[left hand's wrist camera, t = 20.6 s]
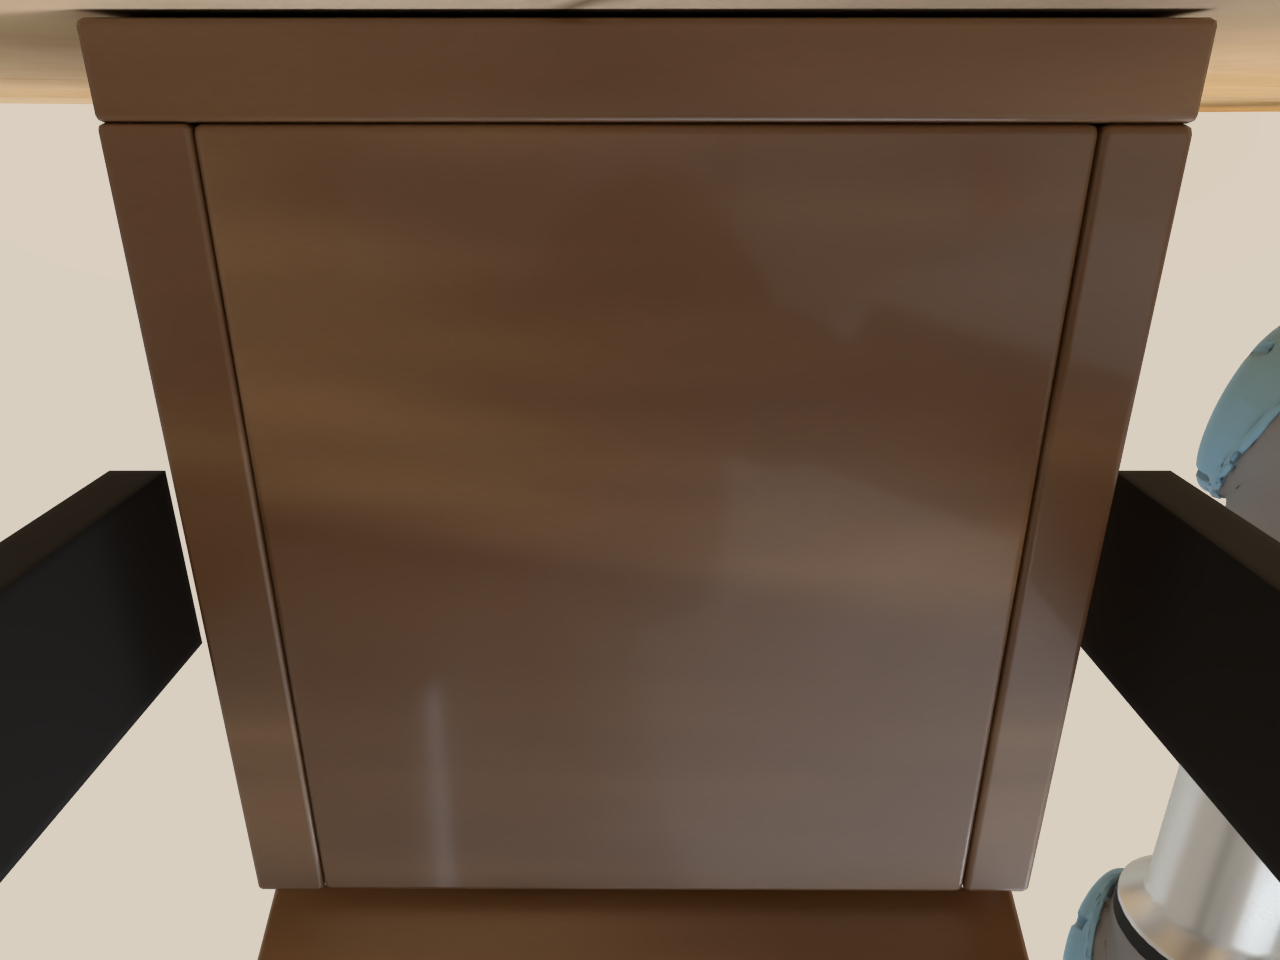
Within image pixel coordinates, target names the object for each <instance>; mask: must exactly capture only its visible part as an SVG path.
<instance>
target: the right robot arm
mask: <svg viewBox="0 0 1280 960" xmlns="http://www.w3.org/2000/svg"><path fill="white" fill-rule="evenodd" d="M1196 465H1197V468H1198V471H1197V474H1196V477H1197V481H1198V483H1199V485H1200V487H1201V488H1202V489H1204V490H1205V491H1208V492H1209V493H1210V494H1211V495H1212V497H1216V498H1219V499H1220V498H1226V508H1228V509H1230V510H1231V511H1233V512H1234V513H1236V514H1237V515H1239V516H1240V517H1242V518H1243V519H1245V520H1246V521H1248V522H1249V523H1251V524H1252V525H1254V526H1256V527H1257V528H1259V529H1260V530H1262V531H1263V532H1265V533H1266V534H1268V535H1269V536H1271V537H1272V538H1274V539H1275V540H1277V541H1278V542H1280V326H1279V327H1277V328H1276V329H1275V330H1273V331H1272V332H1271V333H1270V334H1269V335H1267V336H1266V337H1265V338H1264V339H1263V340H1262V341H1261V342H1260V343H1259V344H1258V345H1257V346H1256V347H1255V349H1254V350H1253V351H1252V352H1251V353H1250V355H1249V356H1248V357H1247V358H1246V359H1245V360H1244V362H1243V363H1242V364H1241V366H1240V367H1239V369H1238V370H1237V372H1236V373H1235V374H1234V376H1233V377H1232V379H1231V380H1230V382H1229V384H1228V385H1227V387H1226V389H1225V390H1224V392H1223V394H1222V396H1221V397H1220V399H1219V401H1218V403H1217V405H1216V407H1215V409H1214V411H1213V413H1212V415H1211V417H1210V420H1209V422H1208V424H1207V427H1206V429H1205V432H1204V434H1203V437H1202V440H1201V443H1200V447H1199V451H1198V455H1197V463H1196ZM1063 960H1280V882H1279V881H1278V880H1277V879H1276V878H1275V876H1274V875H1273V874H1272V873H1271V872H1270V870H1269V869H1268V868H1267V867H1266V866H1265V864H1264V863H1263V862H1262V861H1261V860H1260V859H1259V857H1258V856H1257V855H1256V854H1255V853H1254V851H1253V850H1252V849H1251V848H1250V847H1249V846H1248V844H1247V843H1246V842H1245V841H1244V840H1243V838H1242V837H1241V836H1240V835H1239V834H1238V832H1237V831H1236V830H1235V829H1234V828H1233V827H1232V825H1231V824H1230V823H1229V822H1228V821H1227V819H1226V818H1225V817H1224V816H1223V815H1222V813H1221V812H1220V811H1219V810H1218V809H1217V808H1216V806H1215V805H1214V804H1213V803H1212V802H1211V800H1210V799H1209V798H1208V797H1207V796H1206V794H1205V793H1204V792H1203V791H1202V790H1201V789H1200V787H1199V786H1198V785H1197V784H1196V783H1195V781H1194V780H1193V779H1192V778H1191V777H1190V776H1189V774H1188V773H1187V772H1186V771H1185V770H1184V768H1183V767H1182V766H1181V765H1179V769H1178V772H1177V775H1176V779H1175V782H1174V785H1173V789H1172V792H1171V795H1170V799H1169V802H1168V805H1167V809H1166V812H1165V815H1164V819H1163V822H1162V825H1161V829H1160V832H1159V835H1158V839H1157V842H1156V846H1155V849H1154V852H1153V855H1150V856H1144V857H1141V858H1138V859H1136V860H1134V861H1132V862H1131V863H1129V864H1128V865H1127V866H1126V867H1125V868H1117V869H1113V870H1111V871H1109V872H1107V873H1106V874H1105V875H1103V876H1102V877H1101V878H1100V879H1099V880H1098V881H1097V882H1096V883H1095V885H1094V886H1093V887H1092V888H1091V890H1090V891H1089V892H1088V894H1087V896H1086V897H1085V899H1084V901H1083V902H1082V904H1081V906H1080V908H1079V911H1078V919H1077V922H1076V923H1075V924H1074V925H1073V926H1071V929H1070V932H1069V935H1068V938H1067V943H1066V947H1065V951H1064V956H1063Z"/></svg>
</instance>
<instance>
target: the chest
mask: <svg viewBox="0 0 1280 960" xmlns="http://www.w3.org/2000/svg"><path fill="white" fill-rule="evenodd" d="M1216 28H1217V22H1216V20H1214V19H1212V18H82V19H80V20H78V21H77V30H78V35H79V39H80V44H81V49H82V53H83V58H84V63H85V68H86V72H87V77H88V82H89V86H90V91H91V96H92V101H93V105H94V110H95V114H96V116H97V118H98V120H100V121H102V122H105V123H104V124H102V125H100V126H99V134H100V139H101V144H102V149H103V153H104V158H105V163H106V167H107V172H108V177H109V182H110V186H111V191H112V196H113V200H114V205H115V210H116V215H117V219H118V224H119V229H120V234H121V238H122V243H123V248H124V252H125V257H126V262H127V266H128V271H129V276H130V281H131V285H132V290H133V295H134V299H135V304H136V309H137V314H138V318H139V323H140V328H141V332H142V337H143V342H144V347H145V351H146V356H147V361H148V365H149V370H150V375H151V380H152V384H153V389H154V394H155V398H156V403H157V408H158V412H159V417H160V422H161V427H162V431H163V436H164V441H165V446H166V450H167V455H168V460H169V464H170V469H171V474H172V478H173V483H174V488H175V493H176V497H177V502H178V507H179V511H180V516H181V521H182V525H183V530H184V535H185V540H186V544H187V549H188V554H189V559H190V563H191V568H192V572H193V577H194V582H195V587H196V592H197V596H198V601H199V606H200V610H201V615H202V620H203V625H204V629H205V634H206V639H207V643H208V648H209V653H210V657H211V662H212V667H213V671H214V676H215V681H216V686H217V690H218V695H219V700H220V705H221V709H222V714H223V719H224V723H225V728H226V733H227V737H228V742H229V747H230V752H231V756H232V761H233V766H234V771H235V775H236V780H237V785H238V789H239V794H240V798H241V804H242V808H243V813H244V818H245V822H246V827H247V832H248V836H249V841H250V846H251V851H252V855H253V860H254V865H255V869H256V874H257V879H258V884H259V887H260V888H262V889H321V888H323V887H324V885H325V883H326V885H327V887H330V888H405V889H638V890H871V891H957V890H959V889H960V888H961V887H962V885H963V887H964V888H965V889H966V890H969V891H1024V890H1026V889H1027V888H1028V885H1029V880H1030V876H1031V871H1032V867H1033V862H1034V857H1035V853H1036V848H1037V844H1038V839H1039V834H1040V830H1041V825H1042V821H1043V816H1044V811H1045V807H1046V802H1047V798H1048V793H1049V788H1050V784H1051V779H1052V775H1053V770H1054V765H1055V761H1056V756H1057V751H1058V747H1059V742H1060V738H1061V733H1062V729H1063V724H1064V720H1065V715H1066V710H1067V706H1068V701H1069V697H1070V692H1071V687H1072V683H1073V678H1074V674H1075V669H1076V664H1077V660H1078V655H1079V651H1080V646H1081V642H1082V637H1083V632H1084V628H1085V623H1086V619H1087V614H1088V609H1089V605H1090V600H1091V596H1092V591H1093V586H1094V582H1095V577H1096V573H1097V568H1098V563H1099V559H1100V554H1101V550H1102V545H1103V541H1104V536H1105V531H1106V527H1107V522H1108V518H1109V513H1110V508H1111V504H1112V499H1113V495H1114V490H1115V485H1116V481H1117V476H1118V472H1119V467H1120V462H1121V458H1122V453H1123V449H1124V444H1125V439H1126V435H1127V430H1128V425H1129V421H1130V417H1131V412H1132V407H1133V403H1134V398H1135V394H1136V389H1137V384H1138V380H1139V375H1140V371H1141V366H1142V361H1143V357H1144V352H1145V348H1146V343H1147V338H1148V334H1149V329H1150V324H1151V320H1152V315H1153V311H1154V306H1155V302H1156V297H1157V293H1158V288H1159V283H1160V279H1161V274H1162V269H1163V265H1164V260H1165V256H1166V251H1167V247H1168V242H1169V237H1170V233H1171V228H1172V224H1173V219H1174V214H1175V210H1176V205H1177V201H1178V196H1179V191H1180V187H1181V182H1182V178H1183V173H1184V169H1185V164H1186V159H1187V155H1188V150H1189V146H1190V141H1191V136H1192V132H1191V128H1190V127H1189V126H1187V125H1185V124H1183V123H1189V122H1192V121H1194V120H1195V119H1196V117H1197V115H1198V110H1199V106H1200V101H1201V97H1202V92H1203V87H1204V83H1205V78H1206V74H1207V69H1208V64H1209V60H1210V55H1211V51H1212V46H1213V42H1214V37H1215V32H1216Z"/></svg>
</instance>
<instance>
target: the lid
mask: <svg viewBox="0 0 1280 960" xmlns="http://www.w3.org/2000/svg"><path fill="white" fill-rule="evenodd" d="M258 960H1029V959H1028V955H1027V951H1026V947H1025V943H1024V939H1023V935H1022V931H1021V927H1020V923H1019V919H1018V915H1017V911H1016V907H1015V903H1014V900H1013V895H1012V892H1011V891H969V890H966V889H965V888H964V887H961V888H960V889H959V890H957V891H871V890H638V889H405V888H330V887H327V885H326V884H325V885H324V887H323V888H321V889H276V890H275V894H274V898H273V902H272V906H271V910H270V914H269V918H268V921H267V925H266V930H265V933H264V937H263V941H262V945H261V949H260V953H259V957H258Z"/></svg>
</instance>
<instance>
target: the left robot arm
mask: <svg viewBox="0 0 1280 960" xmlns="http://www.w3.org/2000/svg"><path fill="white" fill-rule="evenodd" d="M201 644H202V640H201V636H200V631H199V626H198V622H197V617H196V612H195V608H194V603H193V598H192V594H191V589H190V584H189V580H188V575H187V570H186V566H185V561H184V556H183V552H182V547H181V542H180V538H179V533H178V528H177V524H176V519H175V515H174V510H173V505H172V501H171V496H170V491H169V486H168V482H167V477H166V472H165V471H109V472H107V473H105V474H104V475H102V476H101V477H99V478H98V479H96V480H95V481H93V482H92V483H90V484H89V485H87V486H86V487H84V488H83V489H81V490H79V491H78V492H77V493H75V494H73V495H72V496H70V497H69V498H67V499H66V500H64V501H63V502H61V503H60V504H58V505H57V506H55V507H54V508H52V509H51V510H49V511H48V512H46V513H44V514H43V515H41V516H40V517H38V518H37V519H35V520H34V521H32V522H31V523H29V524H28V525H26V526H25V527H23V528H22V529H20V530H18V531H17V532H15V533H14V534H12V535H11V536H9V537H8V538H6V539H5V540H3V541H2V542H0V882H1V881H2V880H3V879H4V877H5V876H6V875H7V874H8V873H9V872H10V870H11V869H12V868H13V867H14V866H15V864H16V863H17V862H18V861H19V860H20V859H21V857H22V856H23V855H24V854H25V853H26V851H27V850H28V849H29V848H30V847H31V846H32V844H33V843H34V842H35V841H36V840H37V838H38V837H39V836H40V835H41V834H42V832H43V831H44V830H45V829H46V828H47V827H48V825H49V824H50V823H51V822H52V821H53V819H54V818H55V817H56V816H57V815H58V813H59V812H60V811H61V810H62V809H63V807H64V806H65V805H66V804H67V803H68V802H69V800H70V799H71V798H72V797H73V796H74V794H75V793H76V792H77V791H78V790H79V789H80V787H81V786H82V785H83V784H84V783H85V781H86V780H87V779H88V778H89V777H90V775H91V774H92V773H93V772H94V771H95V770H96V768H97V767H98V766H99V765H100V764H101V762H102V761H103V760H104V759H105V758H106V756H107V755H108V754H109V753H110V752H111V751H112V749H113V748H114V747H115V746H116V745H117V743H118V742H119V741H120V740H121V739H122V737H123V736H124V735H125V734H126V733H127V732H128V730H129V729H130V728H131V727H132V726H133V724H134V723H135V722H136V721H137V720H138V719H139V717H140V716H141V715H142V714H143V713H144V711H145V710H146V709H147V708H148V707H149V706H150V704H151V703H152V702H153V701H154V700H155V698H156V697H157V696H158V695H159V694H160V692H161V691H162V690H163V689H164V688H165V686H166V685H167V684H168V683H169V682H170V681H171V679H172V678H173V677H174V676H175V675H176V673H177V672H178V671H179V670H180V669H181V668H182V666H183V665H184V664H185V663H186V662H187V660H188V659H189V658H190V657H191V656H192V654H193V653H194V652H195V651H196V650H197V648H198V647H199V646H200V645H201ZM1081 647H1082V649H1083V650H1084V651H1085V652H1086V653H1087V654H1088V656H1089V657H1090V658H1091V659H1092V660H1093V662H1094V663H1095V664H1096V665H1097V666H1098V667H1099V669H1100V670H1101V671H1102V672H1103V673H1104V675H1105V676H1106V677H1107V678H1108V679H1109V681H1110V682H1111V683H1112V684H1113V685H1114V687H1115V688H1116V689H1117V690H1118V691H1119V692H1120V694H1121V695H1122V696H1123V697H1124V698H1125V700H1126V701H1127V702H1128V703H1129V704H1130V706H1131V707H1132V708H1133V709H1134V710H1135V711H1136V713H1137V714H1138V715H1139V716H1140V717H1141V719H1142V720H1143V721H1144V722H1145V723H1146V724H1147V726H1148V727H1149V728H1150V729H1151V730H1152V732H1153V733H1154V734H1155V735H1156V736H1157V737H1158V739H1159V740H1160V741H1161V742H1162V743H1163V745H1164V746H1165V747H1166V748H1167V749H1168V751H1169V752H1170V753H1171V754H1172V755H1173V757H1174V758H1175V759H1176V760H1177V761H1178V762H1179V764H1180V765H1181V766H1182V767H1183V768H1184V770H1185V771H1186V772H1187V773H1188V774H1189V776H1190V777H1191V778H1192V779H1193V780H1194V781H1195V783H1196V784H1197V785H1198V786H1199V787H1200V789H1201V790H1202V791H1203V792H1204V793H1205V794H1206V796H1207V797H1208V798H1209V799H1210V800H1211V802H1212V803H1213V804H1214V805H1215V806H1216V808H1217V809H1218V810H1219V811H1220V812H1221V813H1222V815H1223V816H1224V817H1225V818H1226V819H1227V821H1228V822H1229V823H1230V824H1231V825H1232V827H1233V828H1234V829H1235V830H1236V831H1237V832H1238V834H1239V835H1240V836H1241V837H1242V838H1243V840H1244V841H1245V842H1246V843H1247V844H1248V846H1249V847H1250V848H1251V849H1252V850H1253V851H1254V853H1255V854H1256V855H1257V856H1258V857H1259V859H1260V860H1261V861H1262V862H1263V863H1264V864H1265V866H1266V867H1267V868H1268V869H1269V870H1270V872H1271V873H1272V874H1273V875H1274V876H1275V878H1276V879H1277V880H1278V881H1279V882H1280V542H1278V541H1277V540H1275V539H1274V538H1272V537H1271V536H1269V535H1268V534H1266V533H1265V532H1263V531H1262V530H1260V529H1259V528H1257V527H1256V526H1254V525H1252V524H1251V523H1249V522H1248V521H1246V520H1245V519H1243V518H1242V517H1240V516H1239V515H1237V514H1236V513H1234V512H1233V511H1231V510H1230V509H1228V508H1226V507H1225V506H1223V505H1222V504H1220V503H1219V502H1217V501H1216V500H1214V499H1213V498H1211V497H1210V496H1208V495H1207V494H1205V493H1203V492H1202V491H1201V490H1199V489H1197V488H1196V487H1194V486H1193V485H1191V484H1190V483H1188V482H1187V481H1185V480H1184V479H1182V478H1181V477H1179V476H1178V475H1176V474H1175V473H1173V472H1171V471H1119V472H1118V476H1117V481H1116V485H1115V490H1114V495H1113V499H1112V504H1111V508H1110V513H1109V518H1108V522H1107V527H1106V531H1105V536H1104V541H1103V545H1102V550H1101V554H1100V559H1099V563H1098V568H1097V573H1096V577H1095V582H1094V586H1093V591H1092V596H1091V600H1090V605H1089V609H1088V614H1087V619H1086V623H1085V628H1084V632H1083V637H1082V642H1081Z"/></svg>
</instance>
